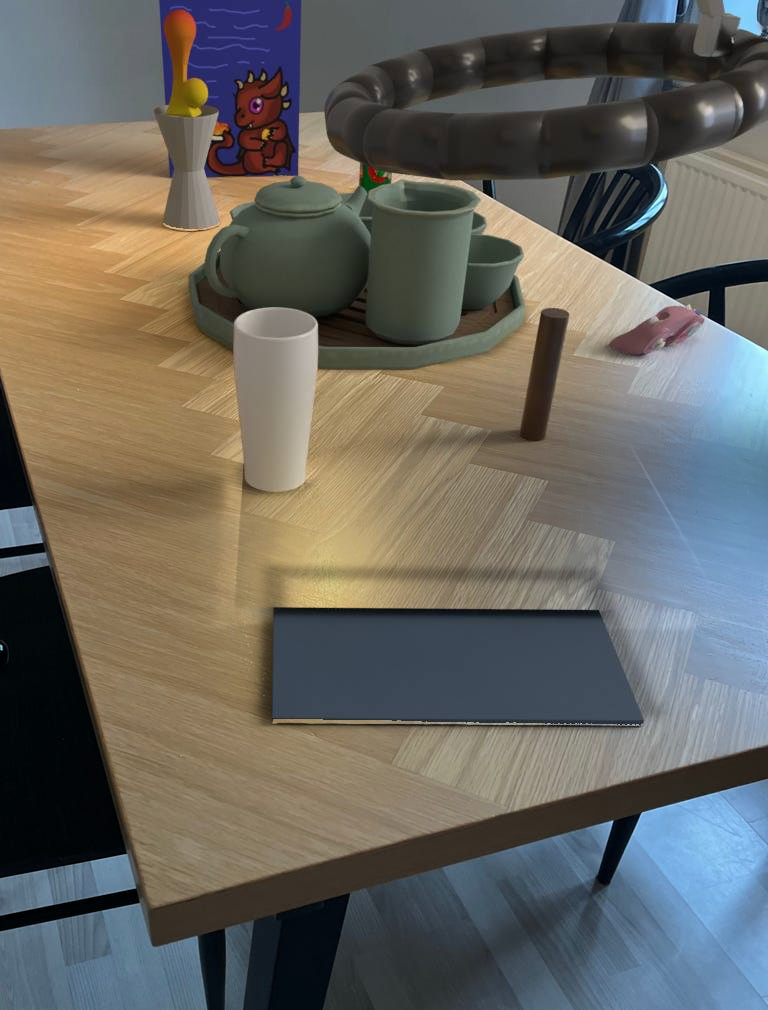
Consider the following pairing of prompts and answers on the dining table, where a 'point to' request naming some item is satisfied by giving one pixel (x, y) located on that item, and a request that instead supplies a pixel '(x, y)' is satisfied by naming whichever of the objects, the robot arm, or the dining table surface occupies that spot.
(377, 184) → the soda can
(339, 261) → the tea set
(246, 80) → the cereal box
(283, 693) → the felt mat
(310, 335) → the drinking glass
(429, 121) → the dark segmented ring
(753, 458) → the dining table surface
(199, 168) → the lava lamp
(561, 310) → the stand
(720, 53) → the robot arm
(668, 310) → the pink toy car
